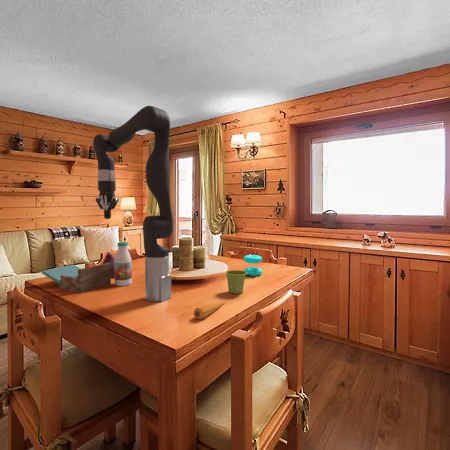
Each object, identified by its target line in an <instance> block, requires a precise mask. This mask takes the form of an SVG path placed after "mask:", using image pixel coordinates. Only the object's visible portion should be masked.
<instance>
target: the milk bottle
mask: <svg viewBox="0 0 450 450" xmlns="http://www.w3.org/2000/svg"><path fill="white" fill-rule="evenodd" d="M128 248H129V241H119V242H117V251H116V254H115V257H114V258H115V262H114V271H115V278H114V285H115V286H118V287H125V286H130V285H132V283H133V271H132V270H133V268H132V264H133V263H132V256H131V254H130V253H129V249H128Z"/></svg>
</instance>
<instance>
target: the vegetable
mask: <svg viewBox="0 0 450 450" xmlns="http://www.w3.org/2000/svg"><path fill="white" fill-rule="evenodd" d="M114 262H115V257H114V256H113V254H112V253H111V252H109V251H107V253H106V255H105V258H104V259H103V262H102V264H106V263H110V268H111V280H112V279H113V280H114V279H115V271H114Z"/></svg>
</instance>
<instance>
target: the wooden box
mask: <svg viewBox="0 0 450 450" xmlns="http://www.w3.org/2000/svg"><path fill="white" fill-rule="evenodd" d="M57 284H58V285H57V286H58V287H57V288H58V289H60V290H65V291H69V292H73V293H74V292H75V293H79V294H83V293H86V292H89V291H93V290H96V288H97V289H99V288H103V287H107V286H111V284H112V279H111V268H110V263H106V264H103V263H102V264H98V265H97V264H96V265H93V266H88V267H84V268H81V269H78V278H76V277H70V276H65V275H61V283H57ZM106 285H107V286H106Z"/></svg>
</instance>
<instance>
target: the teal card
mask: <svg viewBox="0 0 450 450" xmlns="http://www.w3.org/2000/svg"><path fill="white" fill-rule="evenodd" d="M78 269H82V268H81V267H79V266H77V265H76V264H71V265H65V266H60V267H55V268H50V269H45V270H42V273H41V274H42V275H43V276H45V277H47V278H48V279H50V280H52V282H55V283H57V284H60V283H61V275H65V276H70V277H76V278H78Z"/></svg>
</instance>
